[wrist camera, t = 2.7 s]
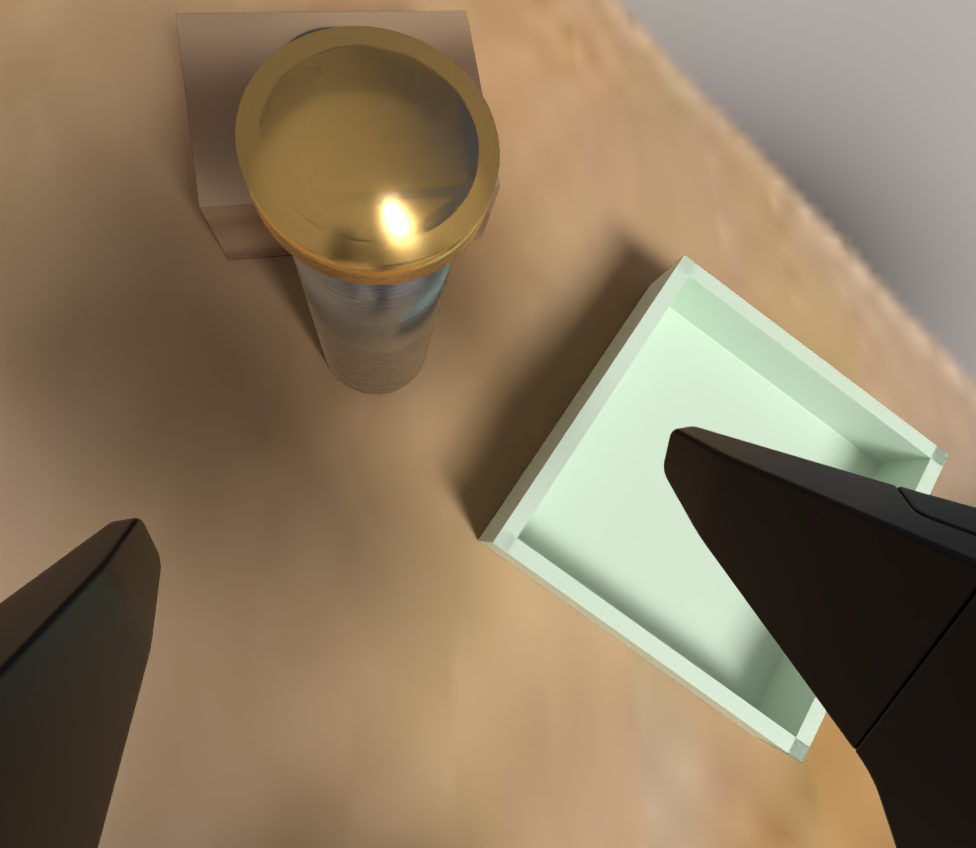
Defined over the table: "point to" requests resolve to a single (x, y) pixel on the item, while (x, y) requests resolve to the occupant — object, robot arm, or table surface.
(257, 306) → the table surface
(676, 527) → the green tray
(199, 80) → the block
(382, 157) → the grey metal cylinder
